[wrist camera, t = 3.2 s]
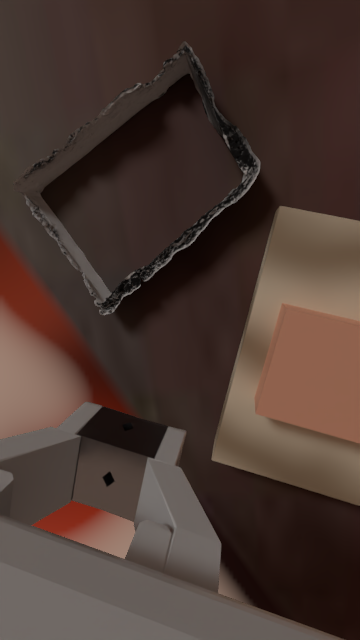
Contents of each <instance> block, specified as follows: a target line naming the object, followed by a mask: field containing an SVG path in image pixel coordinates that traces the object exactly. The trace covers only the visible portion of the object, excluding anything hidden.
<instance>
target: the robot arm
mask: <svg viewBox="0 0 360 640" xmlns="http://www.w3.org/2000/svg"><path fill="white" fill-rule="evenodd" d="M185 437H186V431H185V430H181V429H177V428H173V427H168V426H166V425H163V424H159V423H155V422H151V421H148V420H144V419H140V418H137V417H135V416H132V415H128V414H125V413H122V412H119V411H116V410H113V409H110V408H106V407H103V406H101V405H97V404H94V403H90V402H85V403H84V404H83V405H82V406H80V408H78V409H77V410H76V411H75V412H74V413H73V414H72V415H71V416H69V417H68V418H67V419H66V420H65V421H64V422H63V423H62V424H61V425H60V426H59V427H58V428H53V427H49V428H45V429H41V430H37V431H33V432H29V433H25V434H21V435H17V436H12V437H8V438H5V439H0V640H345V639H342V638H339V637H336V636H334V635H331V634H328V633H326V632H323V631H320V630H317V629H315V628H312V627H309V626H306V625H304V624H301V623H298V622H295V621H292V620H289V619H287V618H284V617H281V616H278V615H276V614H273V613H270V612H267V611H265V610H262V609H259V608H256V607H254V606H251V605H248V604H245V603H243V602H240V601H237V600H234V599H232V598H229V597H226V596H223V595H221V594H218V585H219V570H220V556H221V542H220V540H219V538H218V536H217V535H216V533H215V531H214V529H213V527H212V525H211V523H210V521H209V520H208V518H207V516H206V514H205V512H204V510H203V508H202V506H201V505H200V503H199V501H198V499H197V497H196V495H195V493H194V491H193V490H192V488H191V486H190V484H189V482H188V480H187V478H186V476H185V474H184V473H183V471H182V469H181V468H180V467H178V466H179V461H180V457H181V453H182V449H183V445H184V441H185ZM71 500H72V501H75V502H79V503H82V504H86V505H88V506H92V507H95V508H98V509H101V510H104V511H107V512H109V513H112V514H115V515H118V516H120V517H123V518H125V519H128V520H130V521H133V522H134V527H135V535H134V537H133V540H132V542H131V545H130V547H129V550H128V552H127V555H126V557H125V559H122V558H120V557H117V556H114V555H111V554H109V553H106V552H103V551H100V550H98V549H95V548H92V547H89V546H87V545H84V544H81V543H78V542H76V541H73V540H70V539H67V538H65V537H62V536H59V535H56V534H54V533H51V532H48V531H45V530H42V529H40V528H37V527H34V526H31V525H32V524H34V523H36V522H37V521H39V520H41V519H43V518H44V517H46V516H48V515H49V514H51V513H53V512H54V511H56V510H58V509H60V508H61V507H63V506H65V505H66V504H68V503H70V501H71Z"/></svg>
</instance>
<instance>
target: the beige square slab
mask: <svg viewBox="0 0 360 640" xmlns="http://www.w3.org/2000/svg"><path fill="white" fill-rule="evenodd" d="M282 303H284V304H289V305H293V306H297V307H301V308H306V309H310V310H314V311H319V312H323V313H327V314H331V315H336V316H340V317H344V318H348V319H353V320H357V321H360V221H356V220H351V219H346V218H341V217H336V216H330V215H325V214H320V213H315V212H310V211H304V210H299V209H294V208H289V207H284V206H280V207H279V208H278V209H277V211H276V212H275V216H274V220H273V224H272V227H271V231H270V235H269V238H268V242H267V246H266V250H265V253H264V257H263V261H262V265H261V268H260V272H259V276H258V279H257V283H256V287H255V291H254V294H253V298H252V302H251V305H250V309H249V313H248V317H247V320H246V324H245V328H244V332H243V335H242V339H241V343H240V346H239V350H238V354H237V358H236V361H235V365H234V369H233V372H232V376H231V380H230V384H229V387H228V391H227V395H226V399H225V402H224V406H223V410H222V413H221V417H220V421H219V425H218V428H217V432H216V436H215V440H214V447H213V453H212V460H213V461H217V462H220V463H223V464H226V465H230V466H233V467H236V468H239V469H242V470H246V471H249V472H252V473H255V474H259V475H262V476H265V477H268V478H271V479H275V480H278V481H281V482H284V483H288V484H291V485H294V486H297V487H300V488H304V489H307V490H310V491H313V492H317V493H320V494H323V495H326V496H329V497H333V498H336V499H339V500H342V501H346V502H349V503H352V504H355V505H358V506H360V443H356V442H353V441H349V440H346V439H342V438H338V437H335V436H331V435H328V434H324V433H321V432H317V431H314V430H310V429H307V428H303V427H300V426H296V425H293V424H289V423H286V422H282V421H279V420H275V419H272V418H268V417H265V416H261V415H258V414H256V413H255V400H254V397H255V394H256V391H257V387H258V384H259V380H260V377H261V374H262V370H263V367H264V363H265V360H266V356H267V353H268V350H269V346H270V343H271V339H272V336H273V333H274V329H275V326H276V322H277V319H278V315H279V312H280V309H281V305H282Z"/></svg>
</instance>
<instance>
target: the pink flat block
mask: <svg viewBox="0 0 360 640" xmlns="http://www.w3.org/2000/svg"><path fill="white" fill-rule="evenodd" d="M254 400H255V413H256V414H258V415H261V416H265V417H268V418H272V419H275V420H279V421H282V422H286V423H289V424H293V425H296V426H300V427H303V428H307V429H310V430H314V431H317V432H321V433H324V434H328V435H331V436H335V437H338V438H342V439H346V440H349V441H353V442H356V443H360V321H357V320H353V319H348V318H344V317H340V316H336V315H331V314H327V313H323V312H319V311H314V310H310V309H306V308H301V307H297V306H293V305H289V304H284V303H282V305H281V309H280V312H279V315H278V319H277V322H276V326H275V329H274V333H273V336H272V339H271V343H270V346H269V350H268V353H267V356H266V360H265V363H264V367H263V370H262V374H261V377H260V380H259V384H258V387H257V391H256V394H255V397H254Z"/></svg>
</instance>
